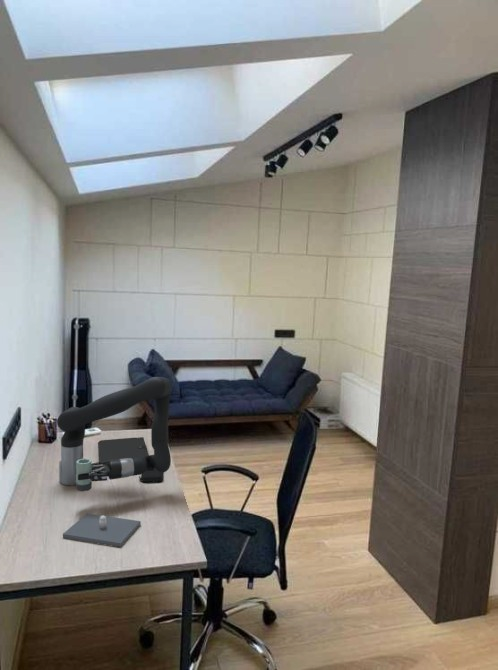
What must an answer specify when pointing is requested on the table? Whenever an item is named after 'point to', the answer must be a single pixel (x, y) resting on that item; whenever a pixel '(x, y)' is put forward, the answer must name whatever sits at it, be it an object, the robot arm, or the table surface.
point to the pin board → (102, 529)
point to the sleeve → (82, 468)
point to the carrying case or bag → (151, 477)
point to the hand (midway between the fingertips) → (77, 474)
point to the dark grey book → (121, 449)
